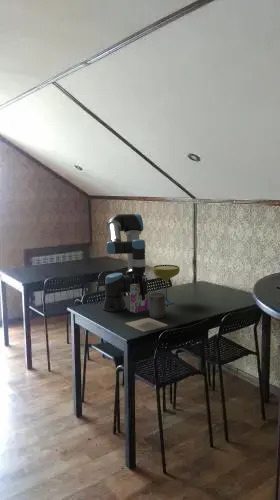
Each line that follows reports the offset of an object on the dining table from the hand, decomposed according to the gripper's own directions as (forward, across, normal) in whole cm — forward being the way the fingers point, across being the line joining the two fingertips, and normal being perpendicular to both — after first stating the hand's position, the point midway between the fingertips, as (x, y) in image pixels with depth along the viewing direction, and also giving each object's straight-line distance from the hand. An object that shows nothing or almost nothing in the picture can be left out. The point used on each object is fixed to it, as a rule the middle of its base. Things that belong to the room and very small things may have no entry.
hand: (139, 304), depth 264 cm
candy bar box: (+4, 0, 0) cm, 4 cm away
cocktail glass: (+11, -24, +41) cm, 49 cm away
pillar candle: (+11, -3, +16) cm, 20 cm away
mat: (+11, +7, 0) cm, 13 cm away
